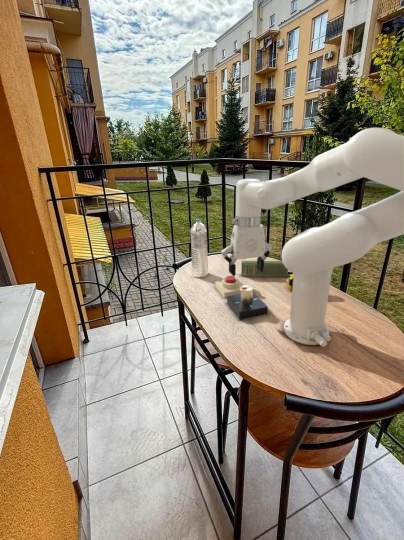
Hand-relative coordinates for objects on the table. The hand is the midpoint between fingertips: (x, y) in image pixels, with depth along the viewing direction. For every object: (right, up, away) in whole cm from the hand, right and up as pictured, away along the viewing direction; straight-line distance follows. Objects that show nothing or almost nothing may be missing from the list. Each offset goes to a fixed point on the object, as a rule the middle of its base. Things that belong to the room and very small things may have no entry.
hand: (246, 272), depth 91 cm
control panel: (+1, -13, +5) cm, 14 cm away
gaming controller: (+24, -8, +15) cm, 30 cm away
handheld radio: (+15, -3, +28) cm, 32 cm away
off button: (-4, -5, +16) cm, 17 cm away
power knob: (+1, -10, +4) cm, 11 cm away
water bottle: (-15, -3, +32) cm, 36 cm away
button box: (-3, -8, +18) cm, 20 cm away
